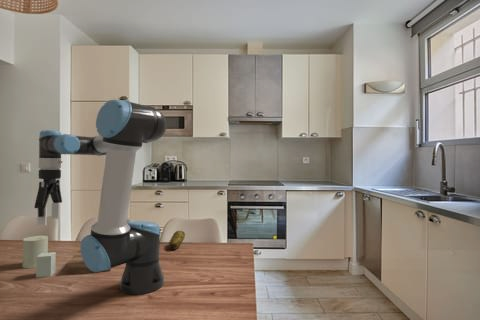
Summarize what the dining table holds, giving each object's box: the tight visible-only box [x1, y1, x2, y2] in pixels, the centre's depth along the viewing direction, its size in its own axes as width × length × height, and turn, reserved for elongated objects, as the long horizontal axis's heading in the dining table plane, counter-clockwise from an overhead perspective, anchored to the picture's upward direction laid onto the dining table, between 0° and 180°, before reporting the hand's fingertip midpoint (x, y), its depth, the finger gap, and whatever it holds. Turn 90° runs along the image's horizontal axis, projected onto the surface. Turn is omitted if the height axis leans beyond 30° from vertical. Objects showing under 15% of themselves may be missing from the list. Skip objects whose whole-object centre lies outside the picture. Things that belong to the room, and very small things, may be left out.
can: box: [21, 235, 49, 269], centre depth 125 cm, size 9×9×12 cm
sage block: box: [35, 251, 57, 278], centre depth 114 cm, size 5×5×8 cm
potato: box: [168, 230, 186, 250], centre depth 152 cm, size 8×13×8 cm, turn 154°
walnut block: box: [66, 250, 112, 275], centre depth 123 cm, size 16×16×5 cm
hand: (49, 221), depth 115 cm, fingers open, 13 cm apart
